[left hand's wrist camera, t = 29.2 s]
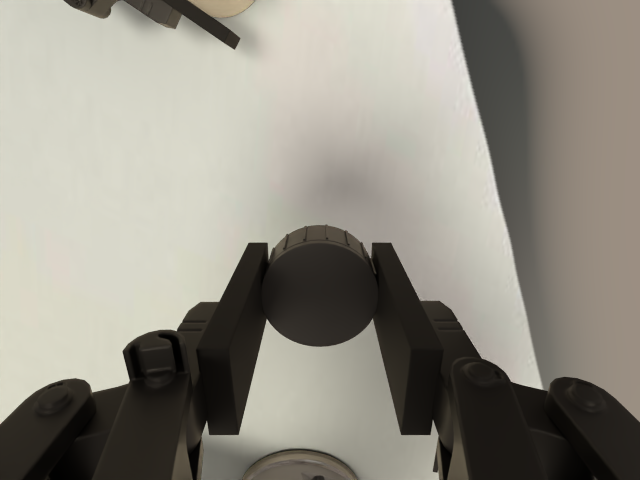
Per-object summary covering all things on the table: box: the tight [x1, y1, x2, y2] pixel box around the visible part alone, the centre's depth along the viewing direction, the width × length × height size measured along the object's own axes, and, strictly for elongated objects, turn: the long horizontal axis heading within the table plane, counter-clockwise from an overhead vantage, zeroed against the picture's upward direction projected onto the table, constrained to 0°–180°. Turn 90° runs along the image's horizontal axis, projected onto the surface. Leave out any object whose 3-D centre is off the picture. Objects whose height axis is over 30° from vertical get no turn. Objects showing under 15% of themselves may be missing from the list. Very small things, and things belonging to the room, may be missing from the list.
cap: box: [261, 225, 379, 347], centre depth 14 cm, size 4×4×2 cm
